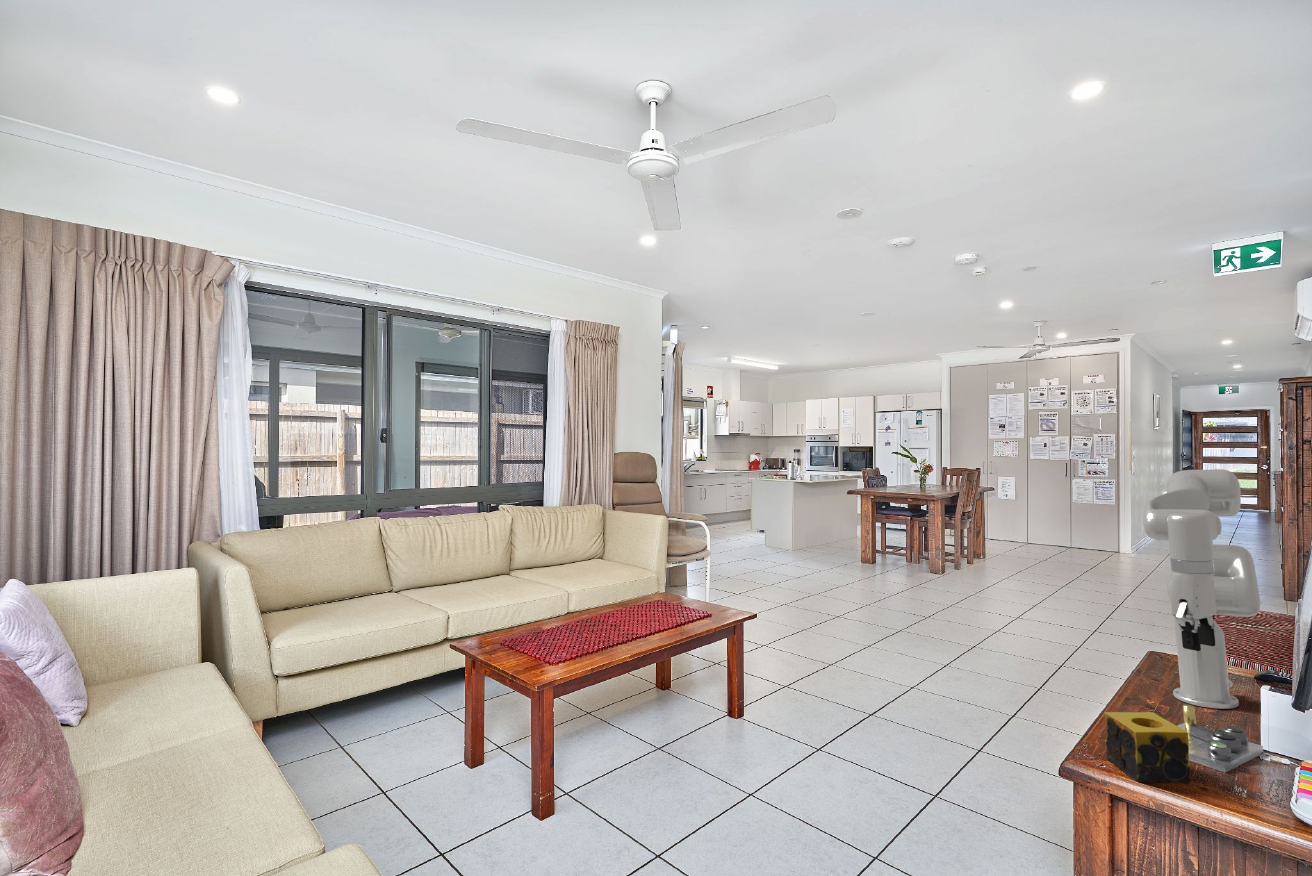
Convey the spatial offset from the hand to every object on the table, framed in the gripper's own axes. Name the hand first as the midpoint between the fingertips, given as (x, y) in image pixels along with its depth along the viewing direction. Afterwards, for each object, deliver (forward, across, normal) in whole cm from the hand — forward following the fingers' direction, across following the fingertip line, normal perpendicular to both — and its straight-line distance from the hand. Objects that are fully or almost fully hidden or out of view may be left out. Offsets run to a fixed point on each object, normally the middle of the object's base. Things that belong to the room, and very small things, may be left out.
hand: (1199, 646), depth 143 cm
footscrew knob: (+18, +8, +4) cm, 20 cm away
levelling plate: (+20, +10, +3) cm, 22 cm away
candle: (+20, +29, +2) cm, 35 cm away
